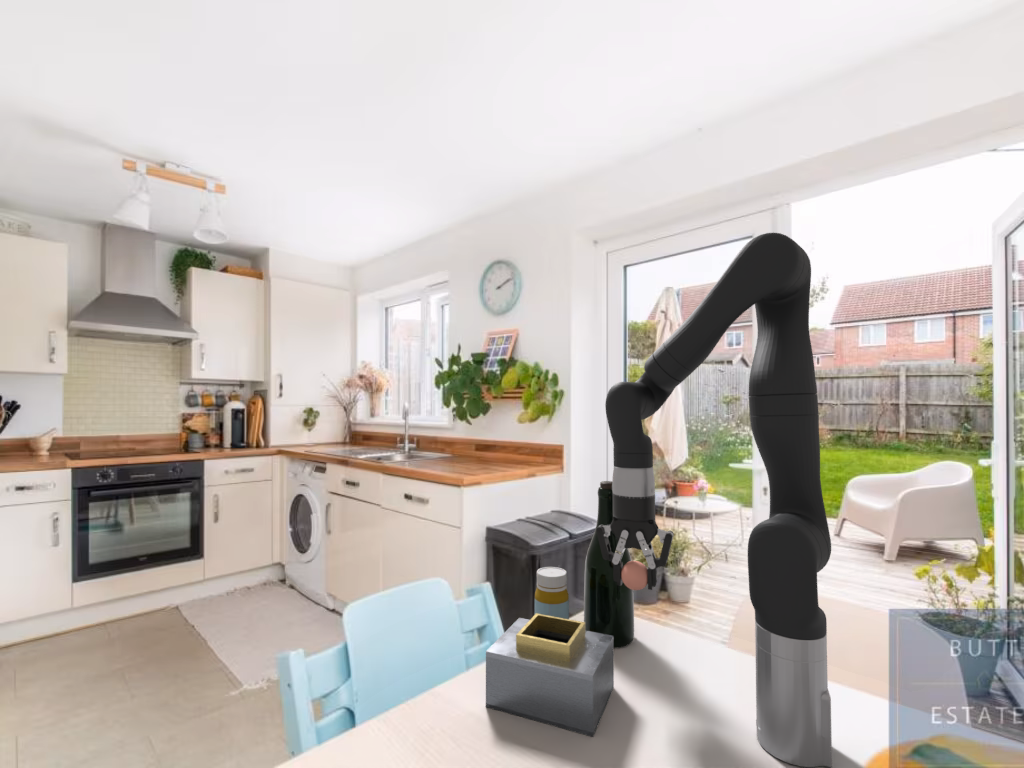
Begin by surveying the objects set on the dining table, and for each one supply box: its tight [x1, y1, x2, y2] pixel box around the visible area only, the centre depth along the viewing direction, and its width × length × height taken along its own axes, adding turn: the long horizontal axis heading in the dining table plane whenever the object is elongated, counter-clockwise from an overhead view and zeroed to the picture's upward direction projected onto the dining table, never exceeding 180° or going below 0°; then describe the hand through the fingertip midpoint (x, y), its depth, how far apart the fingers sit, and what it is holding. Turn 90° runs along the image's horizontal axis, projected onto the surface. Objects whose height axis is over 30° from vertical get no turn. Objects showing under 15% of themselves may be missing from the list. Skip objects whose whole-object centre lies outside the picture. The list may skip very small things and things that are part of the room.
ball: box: [621, 560, 648, 591], centre depth 91 cm, size 5×5×5 cm
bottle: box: [534, 566, 570, 619], centre depth 103 cm, size 7×7×15 cm
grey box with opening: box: [485, 613, 615, 738], centre depth 85 cm, size 18×14×12 cm
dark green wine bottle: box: [583, 480, 635, 649], centre depth 107 cm, size 10×10×33 cm
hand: (635, 585), depth 91 cm, fingers closed on ball, 5 cm apart
